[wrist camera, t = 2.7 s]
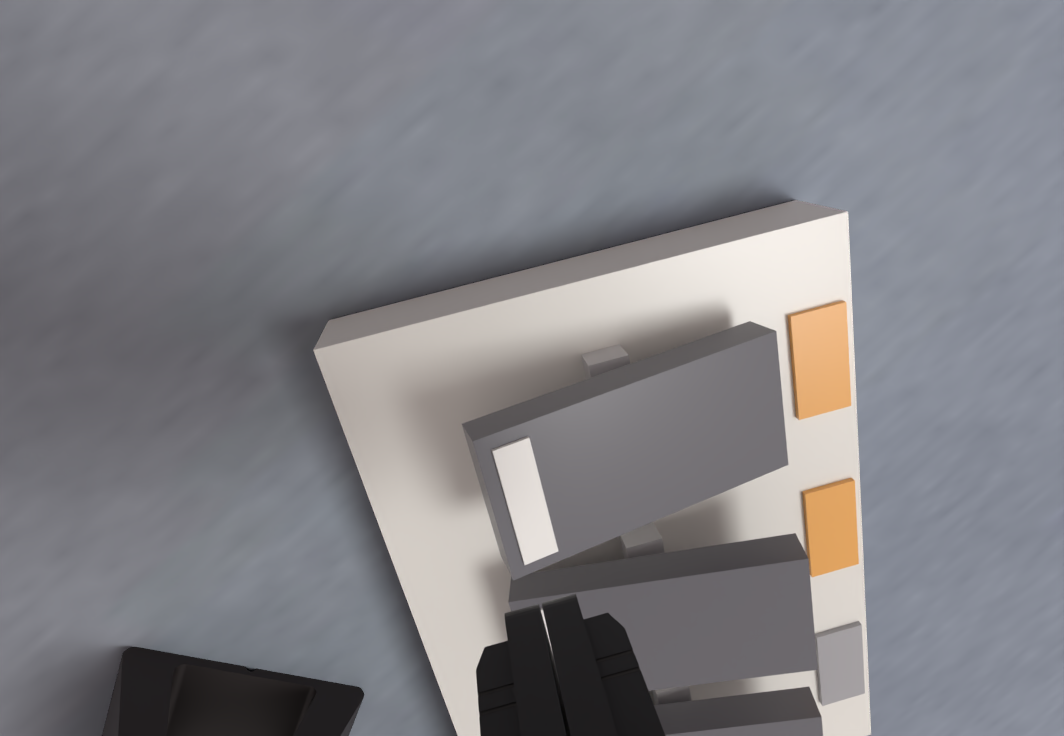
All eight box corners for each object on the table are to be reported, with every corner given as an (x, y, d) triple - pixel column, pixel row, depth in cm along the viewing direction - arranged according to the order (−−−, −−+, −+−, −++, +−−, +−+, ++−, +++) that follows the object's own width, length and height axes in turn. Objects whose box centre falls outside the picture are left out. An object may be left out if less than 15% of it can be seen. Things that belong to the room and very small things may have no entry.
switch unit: (328, 320, 22) (307, 362, 18) (796, 200, 22) (868, 215, 19) (492, 778, 30) (501, 872, 26) (830, 678, 31) (886, 755, 27)
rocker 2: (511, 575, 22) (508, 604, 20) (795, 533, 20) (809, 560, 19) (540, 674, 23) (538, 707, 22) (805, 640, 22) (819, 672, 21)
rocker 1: (461, 423, 18) (473, 443, 16) (749, 320, 20) (778, 331, 18) (500, 556, 19) (514, 583, 18) (763, 448, 21) (790, 466, 20)
